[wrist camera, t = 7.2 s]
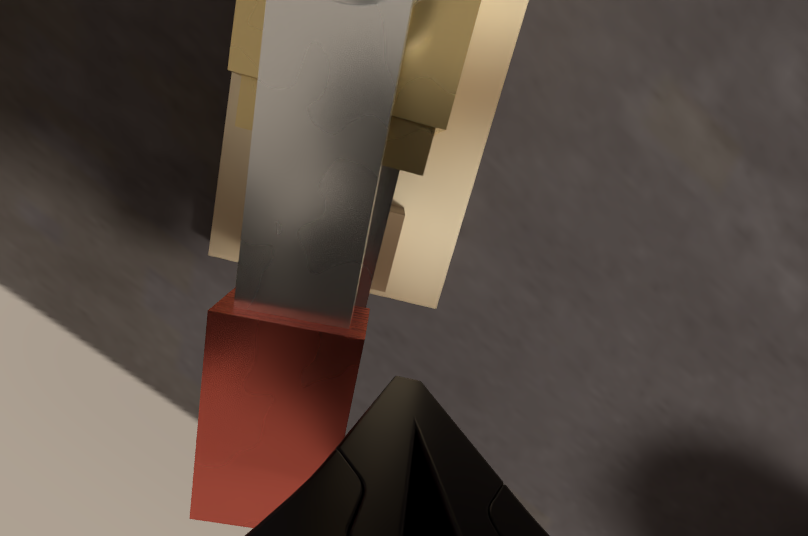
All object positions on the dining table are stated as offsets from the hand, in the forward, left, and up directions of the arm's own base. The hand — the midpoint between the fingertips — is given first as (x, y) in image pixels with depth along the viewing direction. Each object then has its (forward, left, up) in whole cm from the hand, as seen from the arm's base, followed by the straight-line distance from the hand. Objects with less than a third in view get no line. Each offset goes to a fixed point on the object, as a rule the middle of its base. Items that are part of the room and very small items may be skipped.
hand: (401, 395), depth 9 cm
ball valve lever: (-4, -3, 0) cm, 4 cm away
